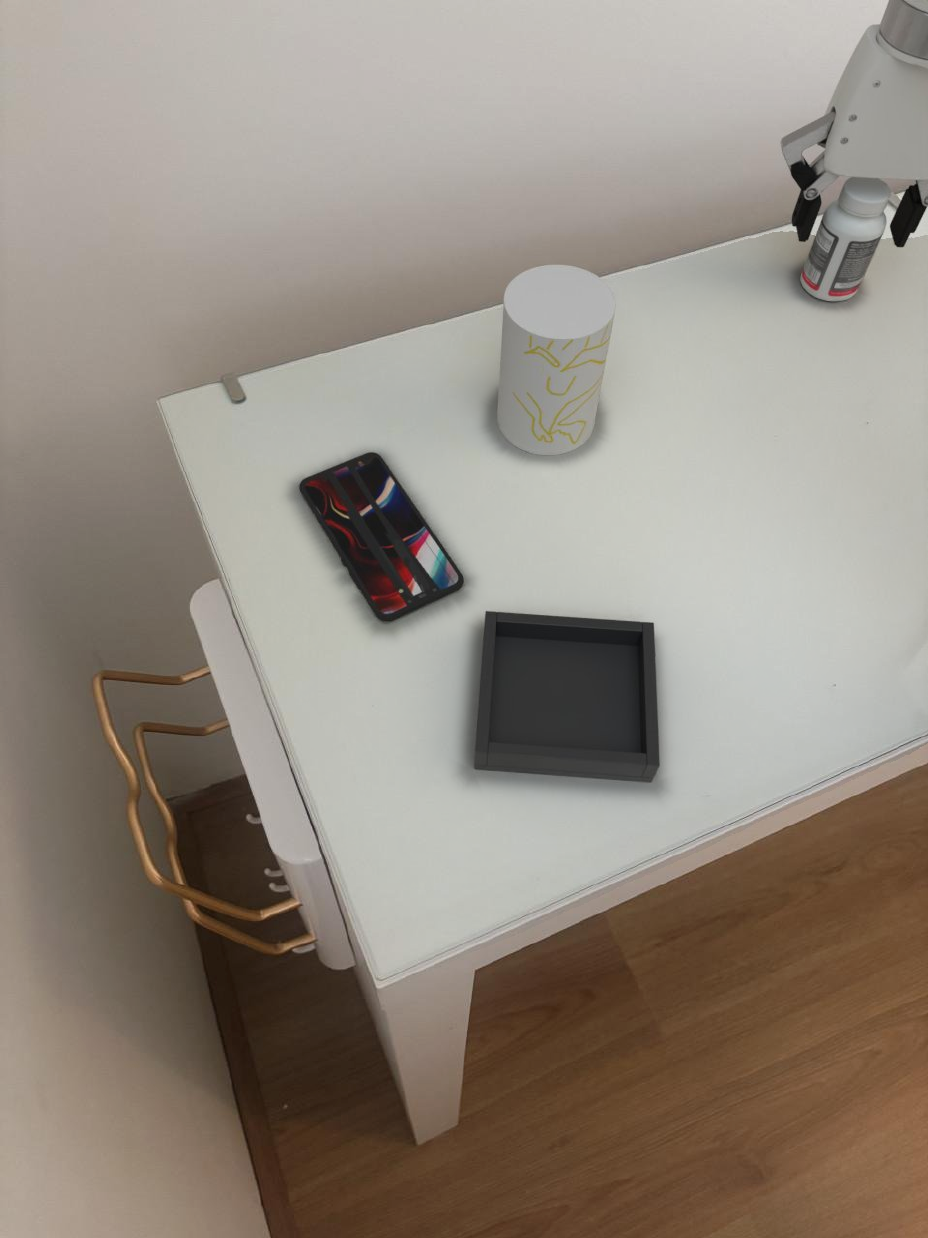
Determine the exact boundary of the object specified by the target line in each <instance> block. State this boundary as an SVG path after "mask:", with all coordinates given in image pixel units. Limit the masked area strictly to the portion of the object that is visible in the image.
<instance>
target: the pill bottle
mask: <svg viewBox="0 0 928 1238" xmlns="http://www.w3.org/2000/svg"><path fill="white" fill-rule="evenodd" d="M891 195H892V190H891V187H890V185H888V183H886V182H885V181H884V180H883V179H878V178H861V177H848V178H847V179H846V180H845V181H844V183H843V185H842V187H841V190H840V193H839V196H838V198H837V199H835V200H833V201H832V202H831V203H830V204H829V205H827V206H826V208H825V210H824V211H823V214H822V217H821V220H820V222H819V225H818V228H817V231H816V233H815V236H814V239H813V241H812V243H811V247H810V249H809V252H808V255H807V256H806V260H805V262H804V266H803V268H802V271H801V274H800V278H799V279H800V283H801V286H802V288H803V289H804V290H805V291H806V292H807V293H808V294H809V295H811V296H812V297H814V298H817V299H818V300H822V301H827V302H842V301H846V300H849V299H851V298H852V297H854V296H855V294H856V293H857V292H858V290H859V287H860V286H861V284H862V282H863V280H864V277H865V275H866V272H867V270H868V268H869V266H870V264H871V262H872V259H873V257H874V255H875V253H876V250H877V248H878V246H879V244H880V242H881V239H882V237H883V235H884V233H885V231H886V227H887V223H888V222H887V216H886V213H885V212H884V211H885V210H886V208H887V206H888V203H889V201H890V198H891Z"/></svg>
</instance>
